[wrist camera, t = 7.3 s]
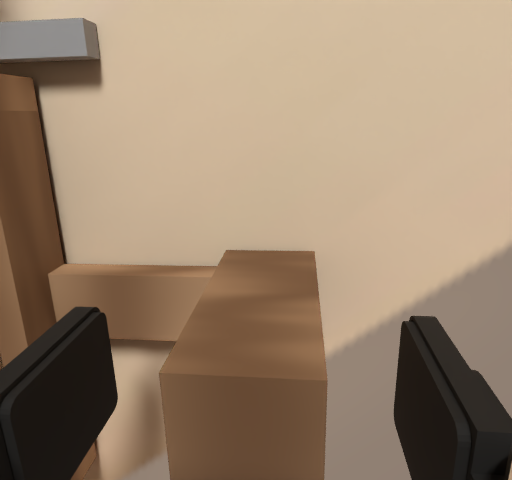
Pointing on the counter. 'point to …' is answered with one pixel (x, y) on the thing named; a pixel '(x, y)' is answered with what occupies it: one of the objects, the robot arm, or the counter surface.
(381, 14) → the counter surface
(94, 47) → the grey bench
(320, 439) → the wooden handled tray
